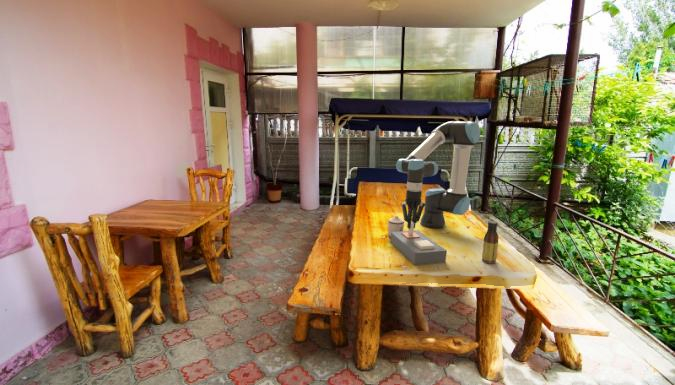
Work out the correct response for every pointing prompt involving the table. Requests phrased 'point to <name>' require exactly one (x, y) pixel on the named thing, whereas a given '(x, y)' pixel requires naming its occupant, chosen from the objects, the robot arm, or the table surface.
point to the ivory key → (423, 244)
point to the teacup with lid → (395, 225)
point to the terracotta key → (410, 235)
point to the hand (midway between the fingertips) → (410, 234)
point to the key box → (414, 252)
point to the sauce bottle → (490, 243)
